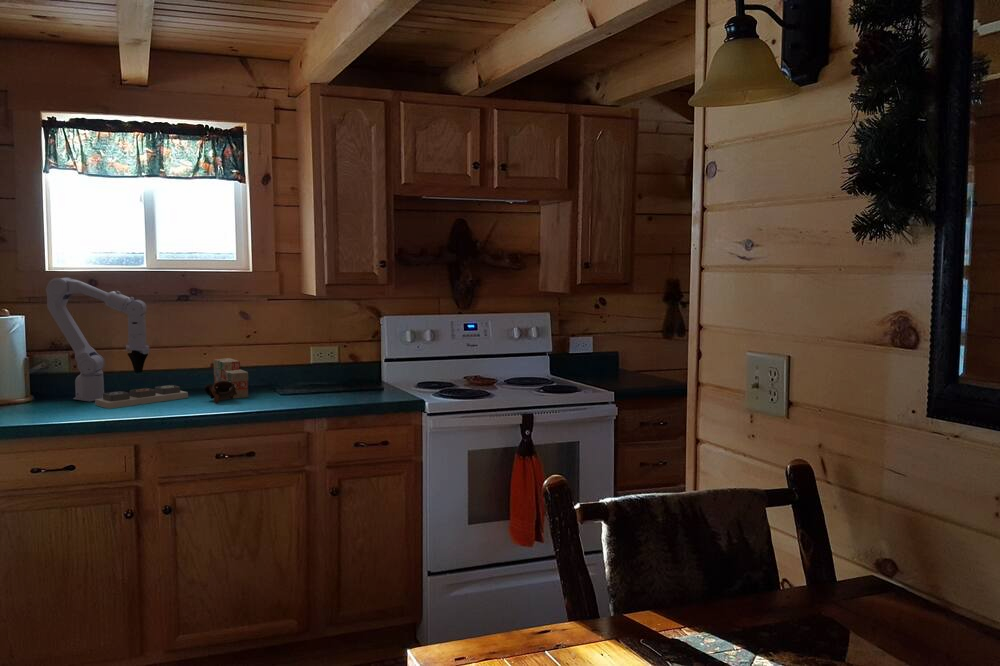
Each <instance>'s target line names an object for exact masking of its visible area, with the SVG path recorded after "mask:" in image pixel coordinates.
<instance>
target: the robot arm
mask: <svg viewBox="0 0 1000 666" xmlns="http://www.w3.org/2000/svg"><path fill="white" fill-rule="evenodd" d="M45 292H46V307H47V308H46V309H47V310H48V311H49V313H50V315H51V317H52V318H53V319H54V322H55V323H56V324H57V326H58V327H59V329H60V331H61V333H62V335H64V337H65V339H66V340H67V342H68V344H69V345H70V347H71V349H72V350H73V352H74V359H75V361H76V363H77V370H78V371H79V372H80V374H79V375H77V376H76V378H75V380H74V385H75V386H74V387H75V397H73V400H78V401H83V402H95V399H101V398H103V393H105V384H104V383H105V381H104V371H103V369H104V367H105V365H106V362H105V361H106V360H105V358H104V357H103V356H102V355H100V354H99V353H98V352H97V351H96V349H95V348H93V347H92V346H91V345H90V344H89V342H88V341H87V338H86V337H85V335H84V334H83V332H82V330H81V329H80V327H79V326H78V324H77V323H76V321H75V320H74V318H73V316H72V314H71V313H70V312H69V310H68V307H67V304H68V301H69V299H70V298H71V297H72V295H74V294H83V295H85V296H89V297H92V298H94V299H96V300H97V299H98V300H99V301H102V302H104V304H105V306H106V307H109V308H111V309H114V310H116V311H119V312H122V313H125V314H126V315H127V332H128V333H127V334H128V339H127V340H128V344H127V345H126V344H125V350H126V351H128V353H127V356H128V357H129V359H130V360H129V361H130V362H131V365H132V368H133V372H134V373H136V374H139V373H143V370H144V365H145V361H146V360H147V357H148V355H149V354H150V353H151V352H150V347H151V346H150V345H147V324H146V323H147V321H146V314H147V313H146V312H147V311H148V307H147V304H146V302H145V301H143V300H141V299H135V297H134V296H130V297H129V296H127V295H124V294H122V293H121V291H119V290H116V291H115V290H113V291H112V290H111V291H109V292H107V291H105V290H102V289H100V288H97V287H95V286H93V285H90V284H88V283H86V282H83V281H82V280H79V279H73V278H71V277H67V276H66V277H65V276H64V277H61V278H60V277H54V278H52V279H51V280H49V281H48V283H47V286H46V288H45ZM129 351H131V352H129Z"/></svg>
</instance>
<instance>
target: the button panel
mask: <svg viewBox="0 0 1000 666" xmlns="http://www.w3.org/2000/svg"><path fill="white" fill-rule="evenodd" d="M162 386H163V385H159V386H154V388H148V387H144V388H141V389H149V391H141V392H137V391H136V390H138V389H139V388H138V389H137V388H135V389H130V390H129V392H126V391H123V390H119V391H117V392H123V394H117V395H109V393H113V392H114V391H111V392H104V393H103V398H101V399H95V401H94V405H95V406H97V407H101V408H104V409H108V410H110V409H117V408H123V407H124V408H125V407H133V406H139V405H146V404H152V403H159V402H167V401H174V400H181V399H183V400H184V399H188V398H189V392H188V391H183V390H181V386H178V385H174V384H168V385H165V386H174V387H173V388H165V389H163V388H161V387H162Z"/></svg>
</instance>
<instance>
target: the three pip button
mask: <svg viewBox="0 0 1000 666" xmlns="http://www.w3.org/2000/svg"><path fill="white" fill-rule="evenodd" d="M136 391H137V392H141V391H149V389H142V388H138V390H136Z"/></svg>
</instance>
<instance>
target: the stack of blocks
mask: <svg viewBox="0 0 1000 666" xmlns="http://www.w3.org/2000/svg"><path fill="white" fill-rule="evenodd" d="M212 363H213V379H214V381H213V383H216V382H218V381H229V382H231V383H233V384H234V387H235V388H236V389H235V391H236V393H237V395H236V394H235V395H234V396H233V399H242V398H243V399H244V398H249V372H248V371H246V370H243V369H241V362H240V360H237V359H233V358H231V357H227V358H214V359H213V360H212ZM216 388H218V387H216ZM231 389H232V387H231V388H229V391H230V390H231Z"/></svg>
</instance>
